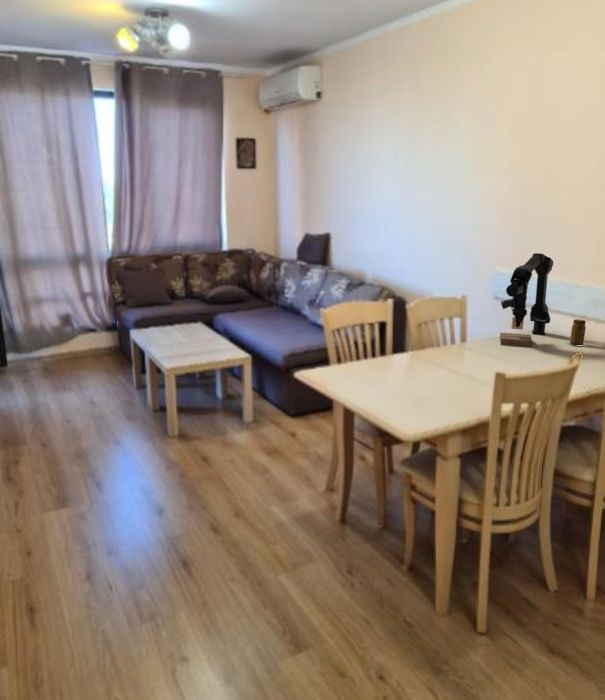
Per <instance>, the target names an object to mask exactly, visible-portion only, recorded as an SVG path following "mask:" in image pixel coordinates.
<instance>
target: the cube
mask: <svg viewBox="0 0 605 700" xmlns="http://www.w3.org/2000/svg"><path fill="white" fill-rule="evenodd" d="M524 319H525V318H524ZM524 319H523V320H522V322H521V324H520V326H519V327H516V319H515V316H512V318H511V326H510V327H511V329H512V330H521V331H522V330H524Z"/></svg>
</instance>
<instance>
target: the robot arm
mask: <svg viewBox="0 0 605 700" xmlns="http://www.w3.org/2000/svg"><path fill="white" fill-rule="evenodd" d="M553 267H554V260H553V258H551V257H549V256H547V255H545V254H544V253H538V252H537V253H536V252H535V253H533V254H532V256H531V257H530V258H529V259H528V260H527V261H526V262H525V263H524V264H523V265H519V266H517V267H516V268H515V269H514V270H513V273H512V275H511V277H510V280H509V282H510V284H509V285H507V287H506V290H505V292H506V295H507V296H509V297H511V298H509V299H505V300H502V301H500V304H501V307H502V310H505V309H508V308H511V311H512V312H511V313H512V315H513V317H515V319H516V327H519V326H520V324H521V322H522V320H523V319H525V317H526V316H527V315H528V310H527V299H528V296H527V294H528V288H529V287H528V286H529V284H530V280H531V278H532V277H533V272H534V271H535V273H536V274H537V279H536V293H535V302H534V304H533V305H532V306H531V308H530V312H529V316H530V322H533V328H532V330H531V334H532V335H544V336H546V335H547V334H546V332H545V330H546V326H547V325H546V324H550V321H551V315H550V313H549V307H548V305H547V303H546V297H547V288H548V287H547V286H548V275H549V274H550V273H551V272H552V268H553Z"/></svg>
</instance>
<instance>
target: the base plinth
mask: <svg viewBox="0 0 605 700" xmlns="http://www.w3.org/2000/svg"><path fill="white" fill-rule="evenodd" d="M499 342H500V343H501V344H500V346H508V345H509V347H511V346H512V347H523V348H532V346H533V339H532V336H531V334H525V333H524V334H523V333H511V332H510V333H509V332H500V333H499Z"/></svg>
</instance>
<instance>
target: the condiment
mask: <svg viewBox="0 0 605 700" xmlns="http://www.w3.org/2000/svg"><path fill="white" fill-rule="evenodd" d="M572 322H573V323H572V326H571V330H570V331H571V332H570V338H569V339H570V340H569V343H570V344H573V345H572V346H573V347H579V346H575V345H583V344H585V343H584V341H585V335H586V322H587V321H586V320H583V319H578V318H576V319H574V320H573V321H572ZM570 344H569V345H570ZM579 348H580V347H579Z"/></svg>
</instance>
